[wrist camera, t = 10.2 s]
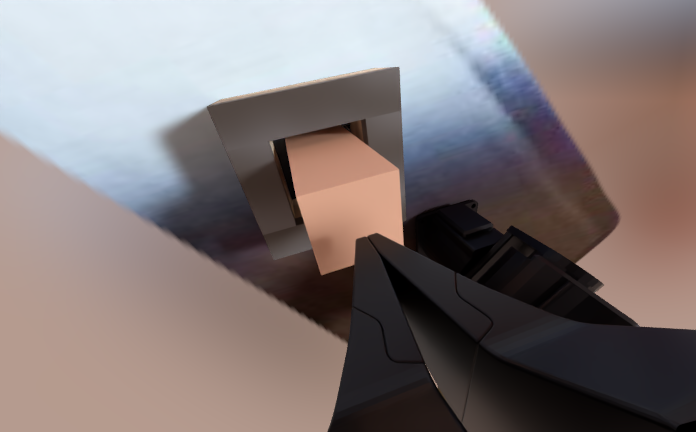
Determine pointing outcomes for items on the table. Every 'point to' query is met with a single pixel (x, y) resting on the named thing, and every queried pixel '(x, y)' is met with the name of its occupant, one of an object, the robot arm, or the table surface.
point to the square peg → (343, 193)
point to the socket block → (297, 118)
